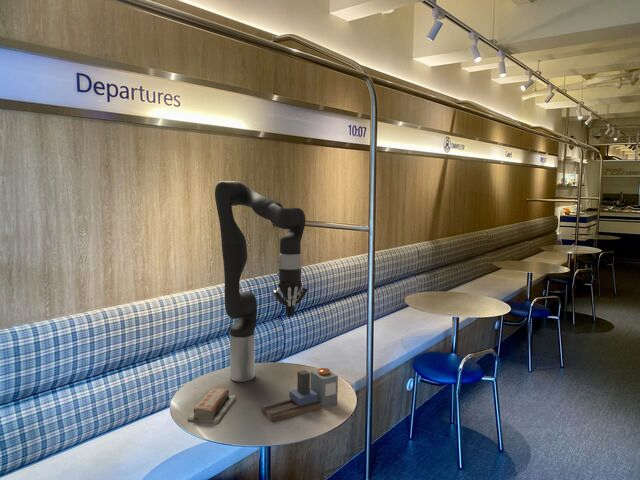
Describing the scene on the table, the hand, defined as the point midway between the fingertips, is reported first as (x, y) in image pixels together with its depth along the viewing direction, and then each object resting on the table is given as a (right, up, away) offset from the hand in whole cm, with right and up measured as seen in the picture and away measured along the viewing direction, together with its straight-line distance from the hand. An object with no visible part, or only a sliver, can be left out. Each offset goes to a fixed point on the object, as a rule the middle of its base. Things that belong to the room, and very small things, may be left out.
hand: (289, 316), depth 163 cm
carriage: (+5, -27, -4) cm, 28 cm away
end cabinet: (+12, -29, 0) cm, 32 cm away
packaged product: (-25, -30, -6) cm, 40 cm away
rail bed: (+1, -30, -6) cm, 31 cm away
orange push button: (+12, -24, -1) cm, 27 cm away
